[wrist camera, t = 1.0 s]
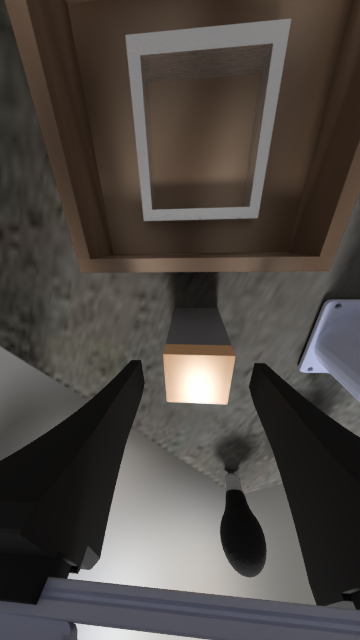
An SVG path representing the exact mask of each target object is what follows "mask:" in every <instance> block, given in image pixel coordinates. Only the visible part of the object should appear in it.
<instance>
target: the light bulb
mask: <svg viewBox="0 0 360 640" xmlns="http://www.w3.org/2000/svg"><path fill="white" fill-rule="evenodd" d="M225 481H226V482H225V483H226V506H225V512H224V515H223V517H222V521H221V527H220V535H221V542H222V546H223V550H224V552H225V555H226V557H227V559H228V561H229V563H230V564H231V565H232V567H233V568H234V569H235V570H236V571H237V572H238V573H240V574H241V575H243V576H246V577H254V576H256V575H258V574H259V573H260V572H261V571H262V569H263V567H264V564H265V560H266V542H265V537H264V534H263V531H262V528H261V526H260V524H259V522H258V520H257V519H256V517H255V516H254V515H253V513H252V512H251V510H250V508H249V506H248V504H247V501H246V498H245V495H244V493H243V491H242V488H241V483H240V478H239V476H238V475H236V474H235V473H234V472H233V471H229V473H228V474H227V475H226V476H225Z"/></svg>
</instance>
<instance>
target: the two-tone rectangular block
mask: <svg viewBox="0 0 360 640" xmlns="http://www.w3.org/2000/svg"><path fill="white" fill-rule="evenodd" d="M163 357H164V370H165V383H166V396H167V402H183V403H205V404H227V403H228V397H229V391H230V385H231V379H232V373H233V368H234V362H235V354H234V351H233V348H232V346H231V343H230V340H229V338H228V335H227V332H226V330H225V327H224V324H223V322H222V319H221V316H220V314H219V311H218V308H174V312H173V317H172V321H171V325H170V329H169V333H168V337H167V341H166V345H165V349H164V353H163Z"/></svg>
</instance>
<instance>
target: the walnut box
mask: <svg viewBox="0 0 360 640" xmlns="http://www.w3.org/2000/svg"><path fill="white" fill-rule="evenodd" d="M5 2H6V6H7V10H8V13H9V17H10V20H11V24H12V27H13V31H14V35H15V38H16V42H17V45H18V49H19V52H20V56H21V60H22V63H23V67H24V70H25V74H26V77H27V81H28V84H29V88H30V92H31V95H32V99H33V102H34V106H35V109H36V113H37V117H38V120H39V124H40V127H41V131H42V134H43V138H44V142H45V145H46V149H47V152H48V156H49V159H50V163H51V167H52V170H53V174H54V177H55V181H56V184H57V188H58V192H59V195H60V199H61V202H62V206H63V209H64V213H65V217H66V220H67V224H68V227H69V231H70V234H71V238H72V242H73V245H74V249H75V252H76V256H77V259H78V263H79V267H80V270H81V273H103V272H275V271H329V270H330V268H331V265H332V262H333V260H334V257H335V254H336V252H337V249H338V246H339V244H340V241H341V239H342V236H343V233H344V231H345V228H346V225H347V223H348V220H349V218H350V215H351V212H352V210H353V207H354V204H355V202H356V199H357V197H358V194H359V191H360V0H5ZM281 19H291V24H290V30H289V36H288V42H287V48H286V54H285V59H284V65H283V71H282V77H281V83H280V89H279V95H278V101H277V107H276V113H275V119H274V125H273V131H272V137H271V143H270V149H269V155H268V161H267V167H266V173H265V179H264V185H263V191H262V197H261V203H260V209H259V215H258V218H257V219H253V220H250V221H213V222H173V223H148V222H145V221H144V218H143V208H142V198H141V188H140V178H139V168H138V157H137V147H136V137H135V127H134V117H133V107H132V97H131V87H130V77H129V67H128V57H127V47H126V37H125V35H130V34H140V33H150V32H160V31H170V30H181V29H191V28H201V27H211V26H221V25H231V24H241V23H251V22H261V21H271V20H281ZM259 81H260V74H254V75H242V76H229V77H217V78H204V79H192V80H179V81H167V82H154V83H148V94H149V108H150V123H151V138H152V153H153V167H154V182H155V197H156V210H159V209H192V208H225V207H243V204H244V197H245V189H246V181H247V174H248V166H249V158H250V150H251V143H252V135H253V127H254V120H255V112H256V104H257V97H258V89H259Z"/></svg>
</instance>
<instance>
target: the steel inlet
mask: <svg viewBox="0 0 360 640" xmlns="http://www.w3.org/2000/svg"><path fill="white" fill-rule="evenodd" d="M290 24H291V19H281V20H271V21H261V22H251V23H241V24H231V25H221V26H211V27H201V28H191V29H181V30H170V31H160V32H150V33H140V34H130V35H125V37H126V47H127V57H128V67H129V77H130V87H131V97H132V107H133V117H134V127H135V137H136V147H137V157H138V168H139V178H140V188H141V198H142V208H143V218H144V221H145V222H148V223H173V222H213V221H250V220H253V219H257V218H258V215H259V209H260V203H261V197H262V191H263V185H264V179H265V173H266V167H267V161H268V155H269V149H270V143H271V137H272V131H273V125H274V119H275V113H276V107H277V101H278V95H279V89H280V83H281V77H282V71H283V65H284V59H285V54H286V48H287V42H288V36H289V30H290ZM254 74H260V81H259V89H258V97H257V104H256V112H255V120H254V127H253V135H252V143H251V150H250V158H249V166H248V174H247V181H246V189H245V197H244V204H243V207H225V208H192V209H159V210H156V197H155V182H154V167H153V153H152V138H151V123H150V108H149V94H148V83H154V82H167V81H179V80H192V79H204V78H217V77H229V76H242V75H254Z"/></svg>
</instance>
